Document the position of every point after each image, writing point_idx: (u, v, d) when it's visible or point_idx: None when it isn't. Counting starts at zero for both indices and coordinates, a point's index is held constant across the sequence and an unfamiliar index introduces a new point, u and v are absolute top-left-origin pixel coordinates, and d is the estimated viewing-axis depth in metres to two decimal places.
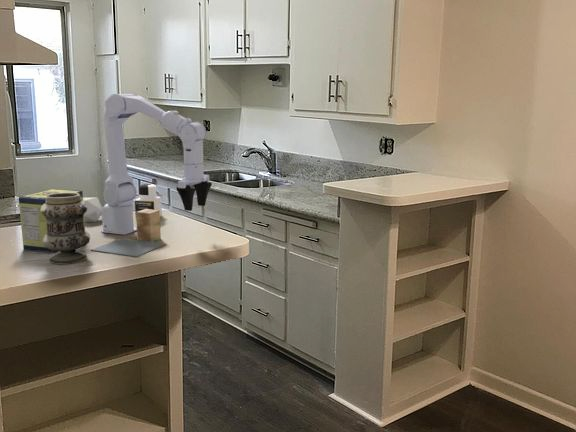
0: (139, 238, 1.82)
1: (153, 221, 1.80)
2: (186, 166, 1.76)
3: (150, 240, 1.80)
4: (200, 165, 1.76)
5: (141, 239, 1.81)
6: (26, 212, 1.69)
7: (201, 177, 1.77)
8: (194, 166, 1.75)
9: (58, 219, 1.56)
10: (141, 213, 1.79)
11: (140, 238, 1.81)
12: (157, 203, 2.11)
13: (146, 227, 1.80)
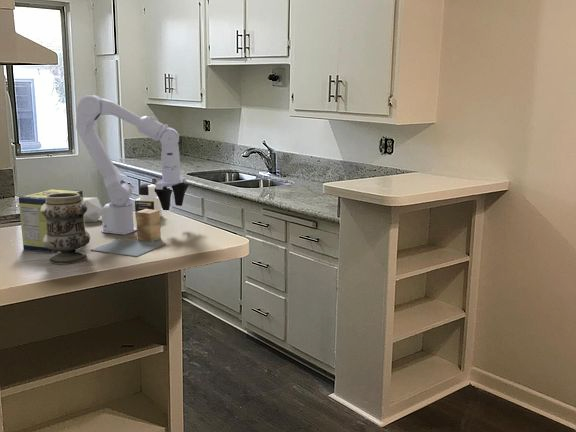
0: (139, 238, 1.82)
1: (153, 221, 1.80)
2: (163, 169, 1.89)
3: (150, 240, 1.80)
4: (176, 168, 1.89)
5: (141, 239, 1.81)
6: (26, 212, 1.69)
7: (177, 179, 1.90)
8: (171, 169, 1.88)
9: (58, 219, 1.56)
10: (141, 213, 1.79)
11: (140, 238, 1.81)
12: (157, 203, 2.11)
13: (146, 227, 1.80)
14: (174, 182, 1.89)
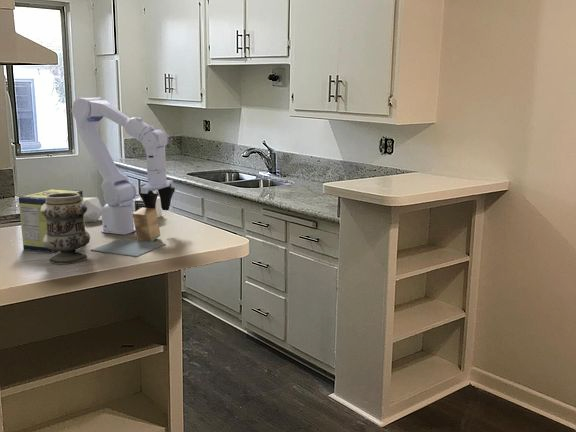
0: (139, 238, 1.81)
1: (150, 221, 1.79)
2: (149, 172, 1.82)
3: (150, 240, 1.80)
4: (162, 171, 1.82)
5: (141, 239, 1.81)
6: (26, 212, 1.69)
7: (164, 183, 1.83)
8: (156, 172, 1.81)
9: (58, 219, 1.56)
10: (138, 215, 1.78)
11: (140, 238, 1.81)
12: (157, 203, 2.11)
13: (144, 228, 1.79)
14: (160, 186, 1.82)
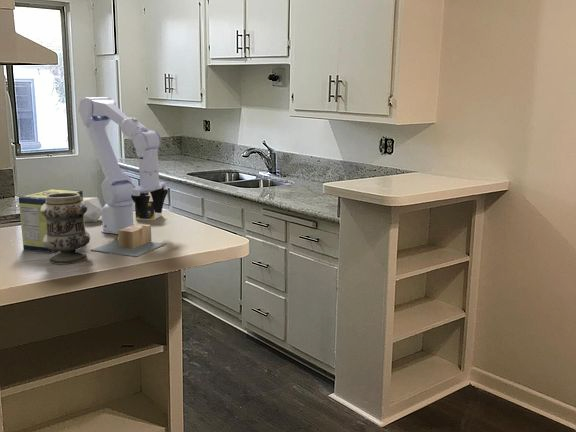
0: None
1: (138, 241, 1.74)
2: (141, 174, 1.78)
3: None
4: (155, 173, 1.78)
5: None
6: (26, 212, 1.69)
7: (156, 185, 1.80)
8: (148, 174, 1.78)
9: (58, 219, 1.56)
10: None
11: None
12: None
13: None
14: (152, 188, 1.78)
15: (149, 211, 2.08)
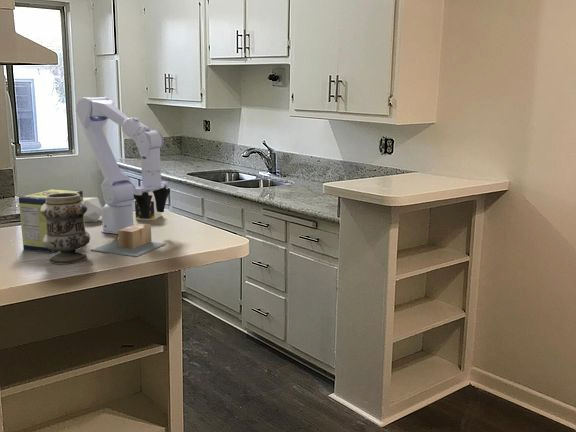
0: None
1: (138, 241, 1.74)
2: (143, 173, 1.79)
3: None
4: (157, 172, 1.80)
5: None
6: (26, 212, 1.69)
7: (158, 184, 1.81)
8: (151, 173, 1.79)
9: (58, 219, 1.56)
10: None
11: None
12: None
13: None
14: (154, 187, 1.79)
15: None
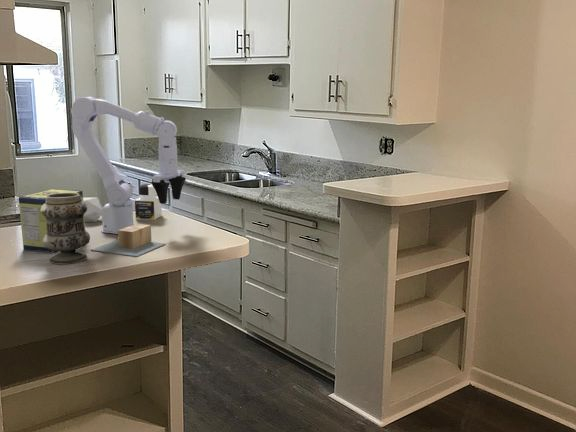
0: None
1: (138, 241, 1.74)
2: (161, 162, 1.87)
3: None
4: (174, 161, 1.87)
5: None
6: (26, 212, 1.69)
7: (175, 172, 1.88)
8: (168, 162, 1.86)
9: (58, 219, 1.56)
10: None
11: None
12: (157, 203, 2.11)
13: None
14: (171, 175, 1.87)
15: (149, 211, 2.08)
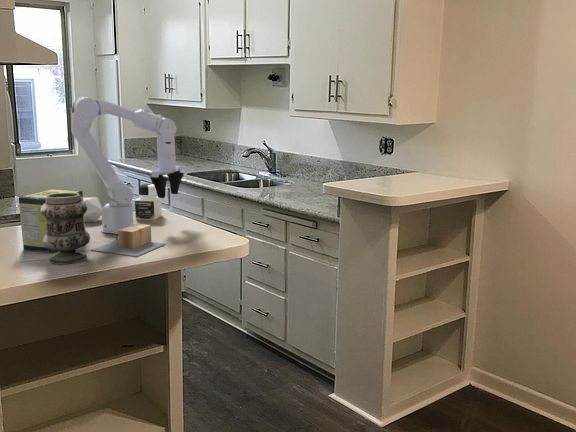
0: None
1: (138, 241, 1.74)
2: (159, 157, 1.93)
3: None
4: (172, 156, 1.93)
5: None
6: (26, 212, 1.69)
7: (173, 167, 1.94)
8: (166, 157, 1.92)
9: (58, 219, 1.56)
10: None
11: None
12: (157, 203, 2.11)
13: None
14: (169, 170, 1.93)
15: (149, 211, 2.08)
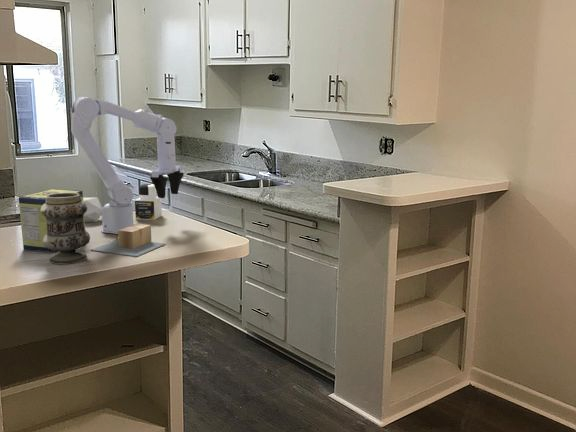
0: None
1: (138, 241, 1.74)
2: (159, 157, 1.93)
3: None
4: (172, 156, 1.93)
5: None
6: (26, 212, 1.69)
7: (173, 167, 1.94)
8: (166, 157, 1.92)
9: (58, 219, 1.56)
10: None
11: None
12: (157, 203, 2.11)
13: None
14: (169, 170, 1.93)
15: (149, 211, 2.08)
